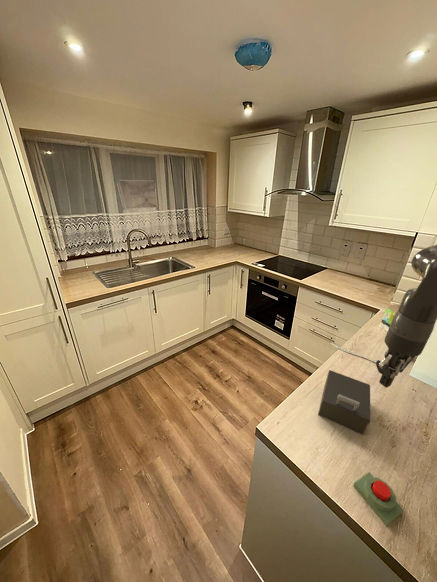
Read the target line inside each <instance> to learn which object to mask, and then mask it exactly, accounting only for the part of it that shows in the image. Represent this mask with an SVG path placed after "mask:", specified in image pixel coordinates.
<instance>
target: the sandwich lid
mask: <svg viewBox="0 0 437 582" xmlns="http://www.w3.org/2000/svg"><path fill="white" fill-rule="evenodd" d="M327 376H328V377H326V379H327V382H326V381H325V382H326V387H325V391H324V396H323V401H322V404H324V405H326V406H328V407H331V408H333V409H335V410H338V411H340V412H342V413H345V414H347V415H349V416H351V417H354V418H356V419H358V420H361V421H363V422H365V423H368V425H370V423H371V384H369V383H366V382H363V381H361V380H358V379H356V378H353V377H351V376H347V375H344V374H341V373H339V372H336V371H334V370H331V369H329V370H328V373H327Z"/></svg>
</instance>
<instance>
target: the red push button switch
mask: <svg viewBox="0 0 437 582" xmlns="http://www.w3.org/2000/svg"><path fill="white" fill-rule="evenodd" d="M375 481H382V482H383V483H385V484H386V485H387V486H388V487H389V489H390V491H391V496H390V498H389V499H388V500H387V501H382V500H380V499H378V498H377V497H376V496H375V494H374V493H373V490H372V486H373V484H374V482H375ZM352 486H353V488H354V489H355V490H356V491H357V493H358V494H359V495H360V497H361V498H362V499H363V500H364V501H365V502H366V504H367V505H368V506H369V507H370V508H371V510H372V511H373V513H375V514H376V516H377V517H378V518H379V519H380V520H381V522H382V523H383V525H385V527H388V526H389V525H390V524H391V523H393V521H395V520H396V519H397V518H398V517H400V516H401V515H402V513H403V512H404V511H405V510H404V509H403V507H402V506H401V505H400V504H399V503H398V502H397V496H396V494H395V493H394V491H393V488H391V486H390V485H389V484H388V483H387V482H386V481H384V480H382V479H381V478H379V477H377V476H376V477H375V476H374V475H373V474H372V473H371V472H370V471H369V472H367V473H366V474H364V475H363V476H361V477H360V478H359V479H357V480H356V481H355V482H354V483H353V485H352Z"/></svg>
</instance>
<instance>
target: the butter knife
mask: <svg viewBox="0 0 437 582" xmlns="http://www.w3.org/2000/svg"><path fill="white" fill-rule="evenodd" d="M330 345H332V346H333V347H335V348H336V349H338V350H340V351H342V352H345V353H348V354H351V355H353V356H358V357H360V358H363V359H366V360H368V361H371V362H373V363H375V364H376V361H377V359H373V358H370V357H369V356H368V357H367V356H365V355H362V354H361V353H358V352H355V351H353V350H350V349H348V348H345V347H343V346H340V345H339V344H338V345H337V344H336V343H333V342H330ZM341 347H342V348H341ZM340 348H341V349H340Z"/></svg>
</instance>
